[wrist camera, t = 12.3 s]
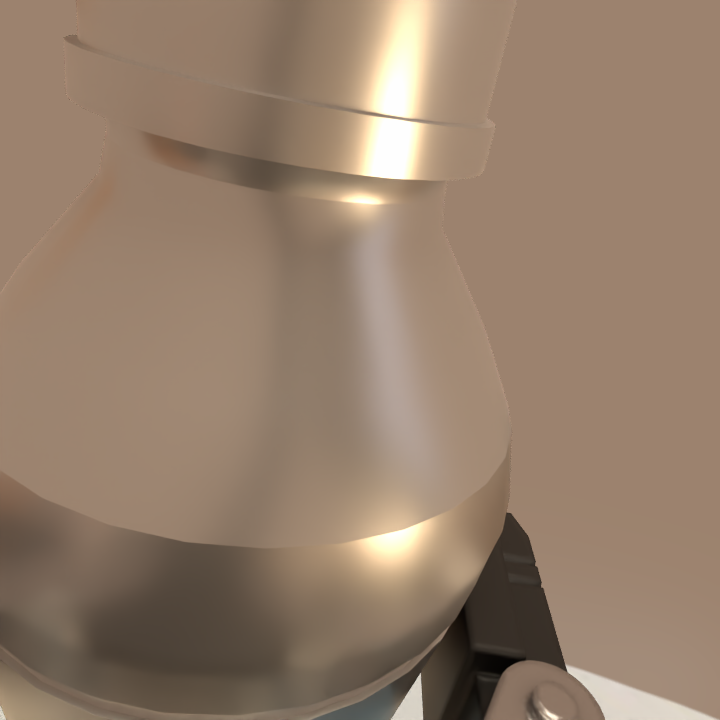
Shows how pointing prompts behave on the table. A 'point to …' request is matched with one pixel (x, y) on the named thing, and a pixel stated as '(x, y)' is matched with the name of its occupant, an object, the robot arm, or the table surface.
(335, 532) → the beige bottle
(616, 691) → the table surface
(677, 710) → the table surface
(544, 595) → the robot arm
